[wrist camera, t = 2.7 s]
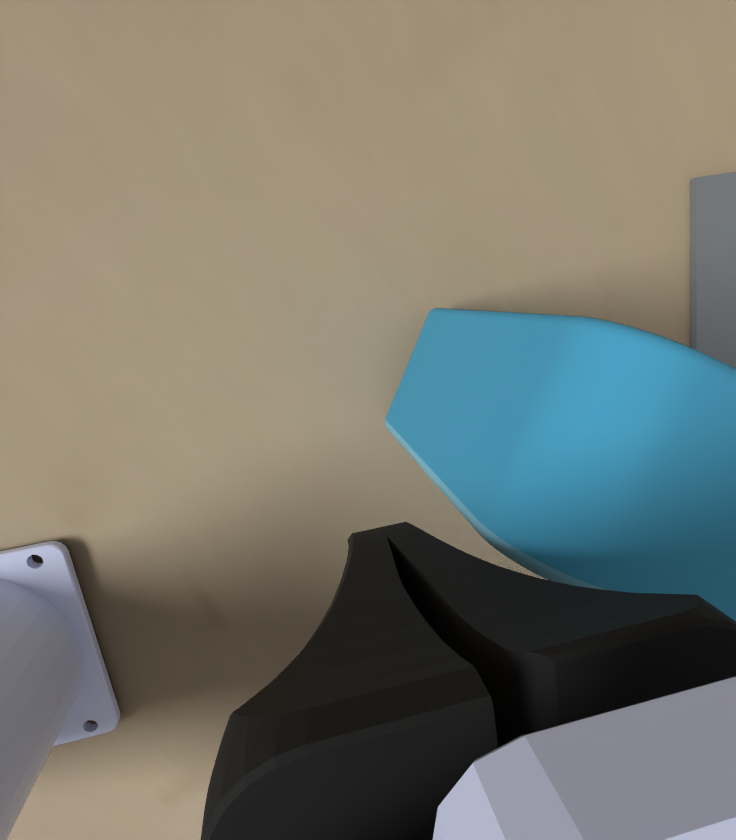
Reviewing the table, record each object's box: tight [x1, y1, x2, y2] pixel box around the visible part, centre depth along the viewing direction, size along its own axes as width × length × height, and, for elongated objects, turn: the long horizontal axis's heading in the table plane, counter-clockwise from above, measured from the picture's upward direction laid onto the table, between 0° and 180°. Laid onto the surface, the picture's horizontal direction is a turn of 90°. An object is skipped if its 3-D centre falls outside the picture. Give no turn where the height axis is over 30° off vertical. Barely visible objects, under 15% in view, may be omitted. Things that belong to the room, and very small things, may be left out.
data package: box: [385, 308, 736, 621], centre depth 16 cm, size 12×4×12 cm, turn 68°
